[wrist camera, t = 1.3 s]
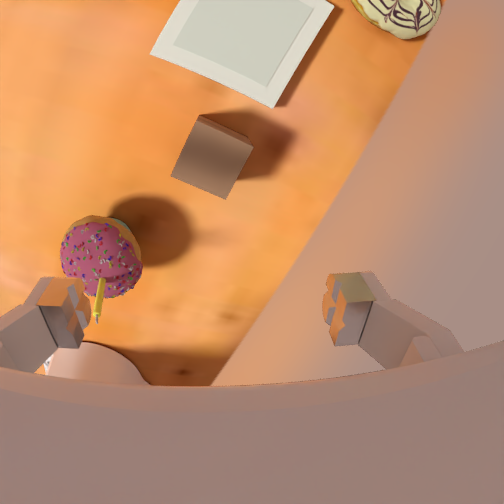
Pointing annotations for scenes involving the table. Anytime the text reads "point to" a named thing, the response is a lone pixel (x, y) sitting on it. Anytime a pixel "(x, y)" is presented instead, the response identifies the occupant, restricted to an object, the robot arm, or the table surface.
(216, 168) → the walnut cube
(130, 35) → the table surface
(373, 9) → the decorated donut
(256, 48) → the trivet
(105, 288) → the cupcake
